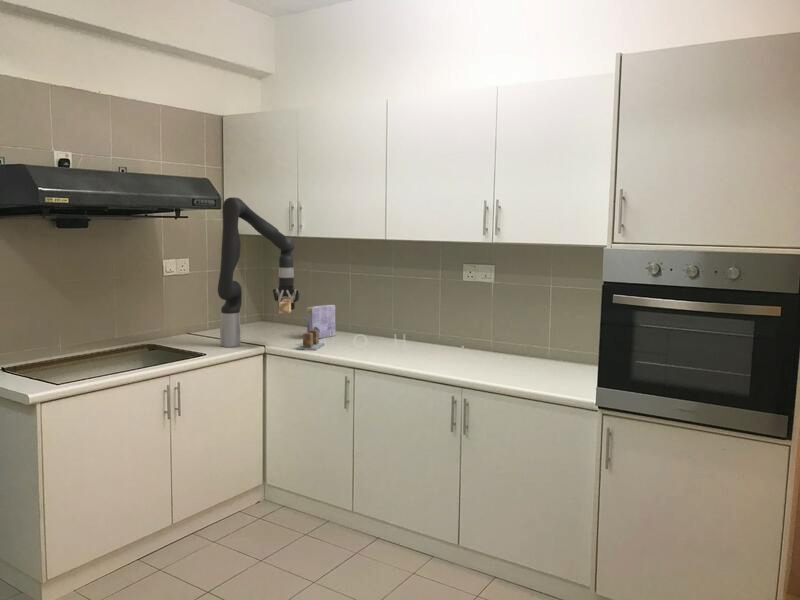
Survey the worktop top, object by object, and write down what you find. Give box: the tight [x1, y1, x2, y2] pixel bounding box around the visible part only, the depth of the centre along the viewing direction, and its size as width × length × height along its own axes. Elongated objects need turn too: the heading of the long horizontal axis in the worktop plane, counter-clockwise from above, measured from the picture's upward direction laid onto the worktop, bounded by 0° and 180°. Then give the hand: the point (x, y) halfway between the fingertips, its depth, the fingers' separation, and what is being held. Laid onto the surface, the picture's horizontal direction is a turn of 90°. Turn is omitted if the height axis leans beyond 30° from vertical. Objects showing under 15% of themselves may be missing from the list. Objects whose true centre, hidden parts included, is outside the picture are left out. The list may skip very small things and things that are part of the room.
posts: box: [302, 330, 320, 348], centre depth 329 cm, size 4×13×7 cm, turn 169°
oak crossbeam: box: [278, 298, 293, 314], centre depth 327 cm, size 5×15×5 cm, turn 1°
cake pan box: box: [306, 304, 336, 339], centre depth 356 cm, size 19×5×18 cm, turn 141°
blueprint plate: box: [296, 342, 326, 351], centre depth 329 cm, size 10×14×1 cm
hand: (286, 309), depth 327 cm, fingers closed on oak crossbeam, 5 cm apart
